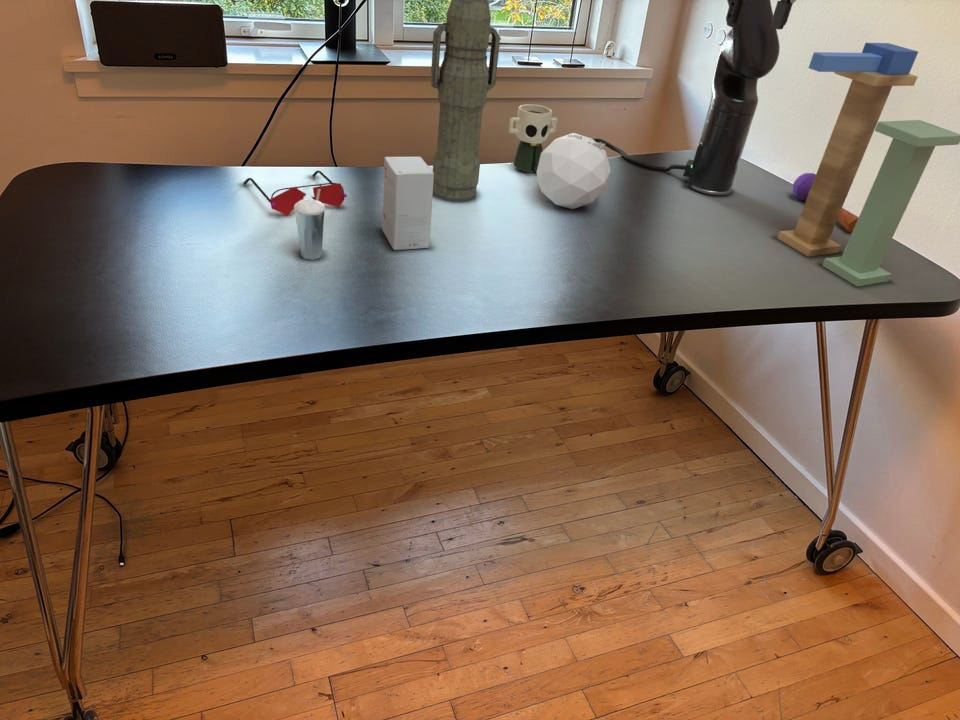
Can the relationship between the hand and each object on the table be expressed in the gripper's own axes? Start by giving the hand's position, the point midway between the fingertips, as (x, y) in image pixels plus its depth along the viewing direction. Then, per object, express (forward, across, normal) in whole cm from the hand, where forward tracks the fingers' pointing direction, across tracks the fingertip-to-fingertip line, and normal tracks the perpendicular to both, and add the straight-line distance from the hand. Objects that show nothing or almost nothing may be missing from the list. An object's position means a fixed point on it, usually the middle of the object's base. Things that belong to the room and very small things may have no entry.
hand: (754, 27), depth 108 cm
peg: (+5, -20, +4) cm, 21 cm away
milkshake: (+38, +66, -9) cm, 77 cm away
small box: (+38, +50, -12) cm, 64 cm away
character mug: (+37, +14, -41) cm, 57 cm away
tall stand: (+37, -25, +4) cm, 45 cm away
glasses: (+38, +65, -32) cm, 82 cm away
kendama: (+37, -41, -9) cm, 56 cm away
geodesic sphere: (+37, +14, -22) cm, 45 cm away
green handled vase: (+37, +35, -30) cm, 59 cm away
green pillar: (+37, -26, +15) cm, 47 cm away
